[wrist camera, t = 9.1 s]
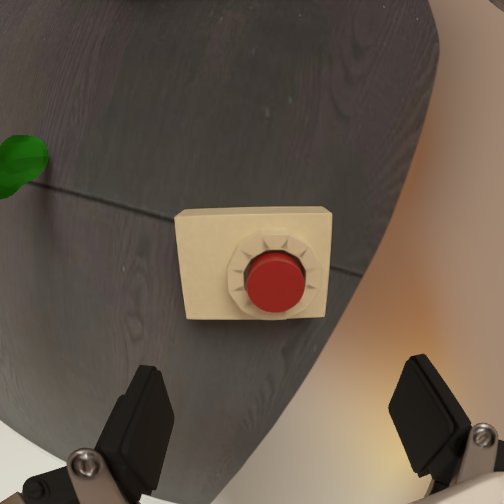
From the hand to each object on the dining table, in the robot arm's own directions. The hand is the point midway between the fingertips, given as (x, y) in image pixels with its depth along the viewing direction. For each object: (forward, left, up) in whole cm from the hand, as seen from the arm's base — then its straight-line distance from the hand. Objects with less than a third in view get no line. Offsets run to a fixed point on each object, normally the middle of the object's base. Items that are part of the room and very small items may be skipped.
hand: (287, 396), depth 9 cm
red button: (0, +1, -12) cm, 12 cm away
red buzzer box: (+1, 0, -17) cm, 17 cm away
